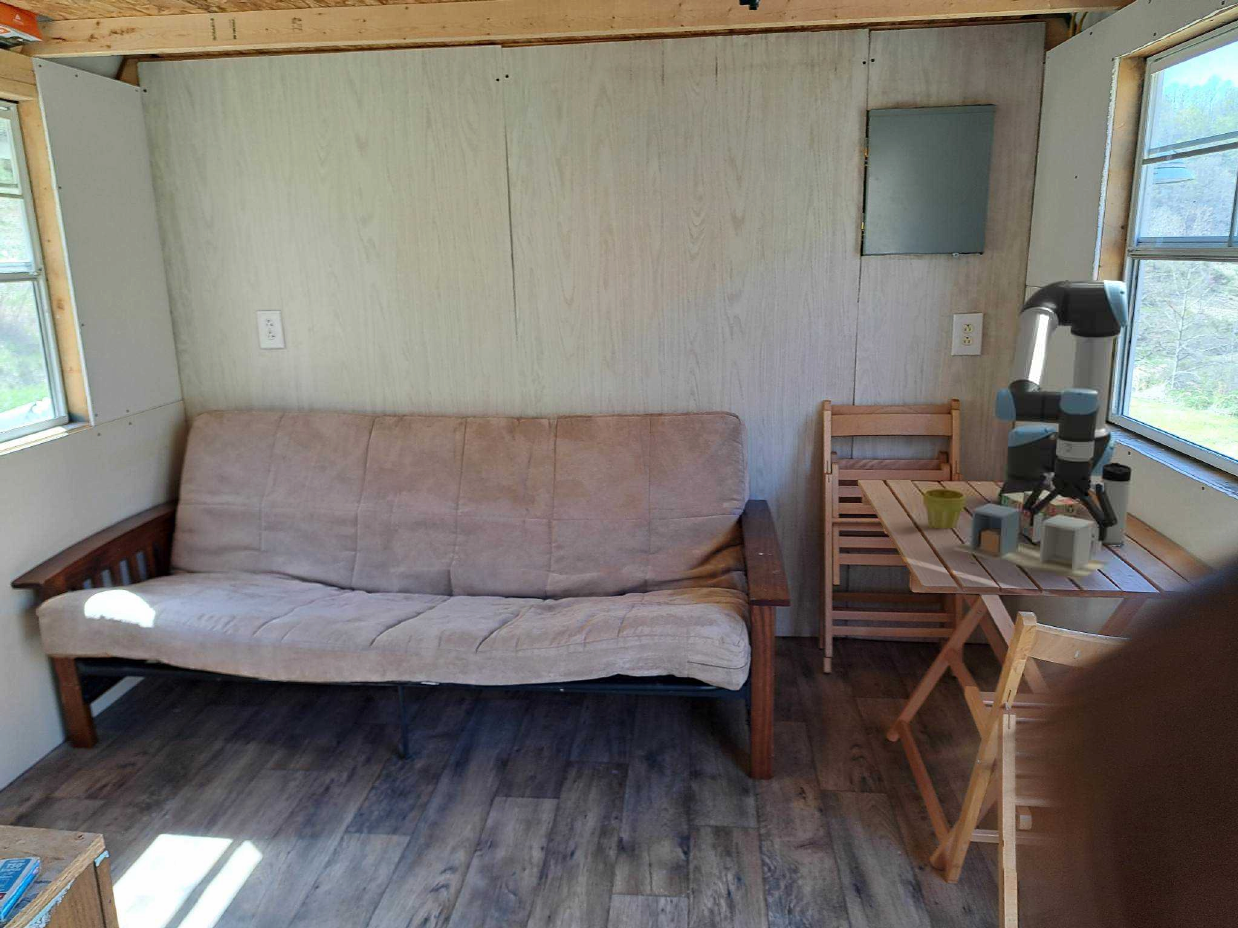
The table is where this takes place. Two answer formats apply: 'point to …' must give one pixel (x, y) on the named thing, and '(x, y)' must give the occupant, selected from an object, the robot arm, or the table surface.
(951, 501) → the plant pot
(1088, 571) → the birch board
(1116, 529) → the travel mug
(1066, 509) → the stack of blocks
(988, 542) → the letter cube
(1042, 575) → the table surface
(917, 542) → the table surface
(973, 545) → the hollow pale blue box
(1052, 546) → the box
